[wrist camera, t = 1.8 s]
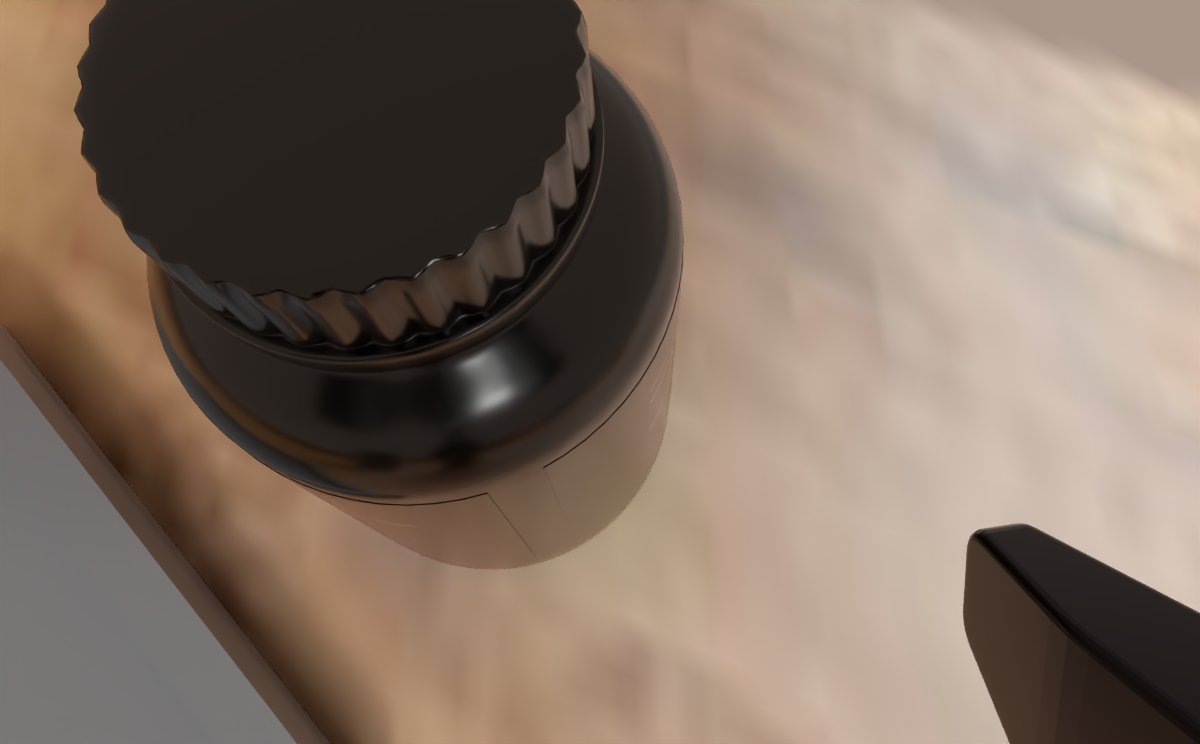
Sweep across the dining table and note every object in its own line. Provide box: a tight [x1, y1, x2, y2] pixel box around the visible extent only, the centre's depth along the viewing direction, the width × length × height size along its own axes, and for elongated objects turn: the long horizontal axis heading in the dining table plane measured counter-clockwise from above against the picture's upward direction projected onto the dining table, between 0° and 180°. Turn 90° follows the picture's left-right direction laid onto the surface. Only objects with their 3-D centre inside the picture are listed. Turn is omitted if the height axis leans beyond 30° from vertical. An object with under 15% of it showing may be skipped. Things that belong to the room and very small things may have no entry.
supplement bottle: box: [74, 0, 683, 569], centre depth 15 cm, size 7×7×12 cm
